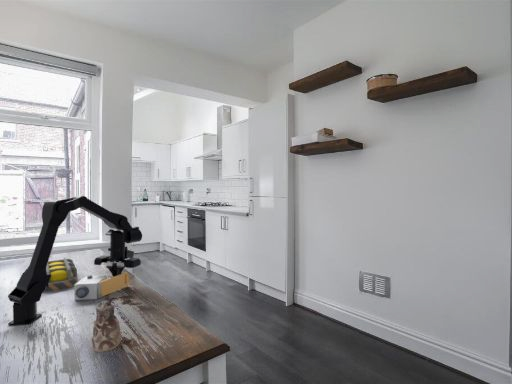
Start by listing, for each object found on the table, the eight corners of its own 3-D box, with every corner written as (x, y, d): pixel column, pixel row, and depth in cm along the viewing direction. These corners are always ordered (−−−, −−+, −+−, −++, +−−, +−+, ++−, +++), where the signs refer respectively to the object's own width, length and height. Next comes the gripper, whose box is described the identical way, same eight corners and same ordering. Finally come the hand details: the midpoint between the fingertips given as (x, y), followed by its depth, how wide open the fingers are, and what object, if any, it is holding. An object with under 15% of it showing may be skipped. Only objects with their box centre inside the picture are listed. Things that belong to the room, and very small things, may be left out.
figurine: (85, 350, 78) (84, 305, 78) (103, 336, 85) (102, 295, 85) (109, 352, 77) (108, 306, 76) (126, 338, 84) (125, 296, 83)
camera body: (94, 300, 112) (94, 282, 112) (72, 301, 111) (71, 283, 111) (107, 289, 124) (107, 273, 124) (87, 290, 123) (86, 274, 123)
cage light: (72, 255, 153) (78, 268, 128) (72, 271, 153) (79, 286, 129) (36, 260, 144) (36, 275, 120) (37, 276, 144) (37, 294, 120)
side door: (99, 298, 113) (99, 283, 113) (97, 298, 114) (96, 282, 114) (129, 285, 128) (129, 272, 128) (127, 285, 128) (126, 271, 128)
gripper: (148, 243, 131) (147, 278, 131) (112, 240, 135) (111, 274, 136) (132, 247, 120) (131, 286, 120) (93, 244, 125) (92, 282, 125)
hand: (117, 281), depth 126 cm, fingers closed
